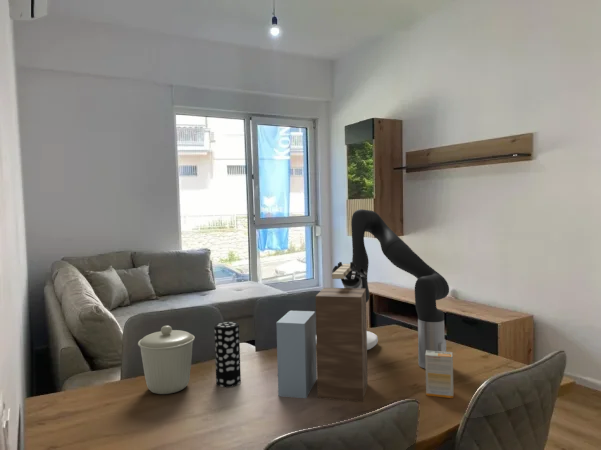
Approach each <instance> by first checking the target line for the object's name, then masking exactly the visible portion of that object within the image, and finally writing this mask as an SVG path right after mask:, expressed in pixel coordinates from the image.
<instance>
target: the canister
mask: <svg viewBox="0 0 601 450" xmlns="http://www.w3.org/2000/svg"><path fill="white" fill-rule="evenodd" d="M194 341H195V335H194V334H192V333H190V332H188V331H185V330H181V329H180V330H179V329H178V330H177V329H173V328H172V326H170V325H163V326H162V327H161V328H160V331H155V332H152V333H150V334H147V335H145V336H143V338H141V339H139V340H138V342H137V346H138V347H139V348H140V355H141V360H142V368H143V373H144V378H145V382H146V386H147V389H148V390H149V391H150V392H151V393H153V394H158V395H169V394H173V393H179V392H180V391H182V390H184V389H185V388H186V387H187V386H188V384H189V382H190V376H191V368H192V356H193V345H194V344H193V343H194Z"/></svg>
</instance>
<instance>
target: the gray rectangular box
mask: <svg viewBox="0 0 601 450" xmlns="http://www.w3.org/2000/svg"><path fill="white" fill-rule="evenodd" d="M275 323H276V351H277V353H276V354H277V356H276V357H277V361H276V362H277V393H278V397H285V398H296V399H297V398H298V399H307V398H308V395H309V394H310V392H311V391H312V389H313V387H314V385H315V383H316V381H317V344H316V310H315V311H314V310H313V311H312V310H289V311H287V313H285V314H284V315H283V316H282V317H281V318H280V319H279V320H278V321H276V322H275Z"/></svg>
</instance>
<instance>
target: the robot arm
mask: <svg viewBox="0 0 601 450" xmlns="http://www.w3.org/2000/svg"><path fill="white" fill-rule="evenodd" d="M350 222H351V243H352V248H351V249H352V259H351V262H349V264H350V268H351V271H350V272H349V273H348V274H347V275H346V276H345V277H344V278H343V279H340V281H341V283H342V285H343V288H363V289H366V304H367V303H368V302H369V300H370V290H369V282H368V274H369V273H368V271H369V264H370V263H369V256H368V255H369V254H368V253H367V252H368V251H367V249H366V245H365V233H366V232H367V233H369V234H371V235H372V236H373V237H375V238H376V239H377V241H378V242H379V243H380V245H379V246H380V248H381V251H382V253H383V255H384V256H385V258H386V259H387V260H388V261H389V262H390V263H391V264H392V265H393V266H395V267H396V268H399V270H402V271H404V272H406V273H408V274H410V275H411V276H414V277H415V278H416V279H417V280H416V281H415V284H414V303H415V311H416V313H417V339H418V340H417V341H418V342H417V345H418V346H417V348H418V351H417V352H418V354H417V355H418V356H417V358H418V359H417V360H418V366H419V367H421V368H422V369H425V370H426V368H425V354H426V350H429V351H443V352H447V339H445V312H444V311H442V310H441V309H438V308H437V301H439V300H442V299H445V298H446V297H447V296H448V295H449V293H450V286H449V283H448V282H447V280H446V278H445V277H444V276H442V275H441V274H440V273H439V272H438V271H436V270H435V269H434V268H433V267H431V266H430V265H429V264H428V263H426V262H425V261H424V260H423V259H422V258H421V257H420V256H419V254H417V253H416V252H415V251H414V250H413V249H412V248H411V247H410V246H409V245H408V244H407V243H406V242H405V241H404V240H403V239H402V238H401V237H399V236H398V235H397V234H396V232H394V231H393V230H392V229H391V228H390V227H389V226H388V225H387V224H386V222H385V221H384V220H383V218H382V217H381V216H380V215H379V214H378V213H377V212H375V211H373V210H370V209H362V208H359V209H357V210H355V211H354V212H353V214H352V216H351V221H350ZM342 265H343V263H342V261H339V262H338V263H337V265H334V267H333V268H332V270H331V275H332V274H333V273H334V272H335V271H336V270H337V269H338V268H339V267H340V266H342Z"/></svg>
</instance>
